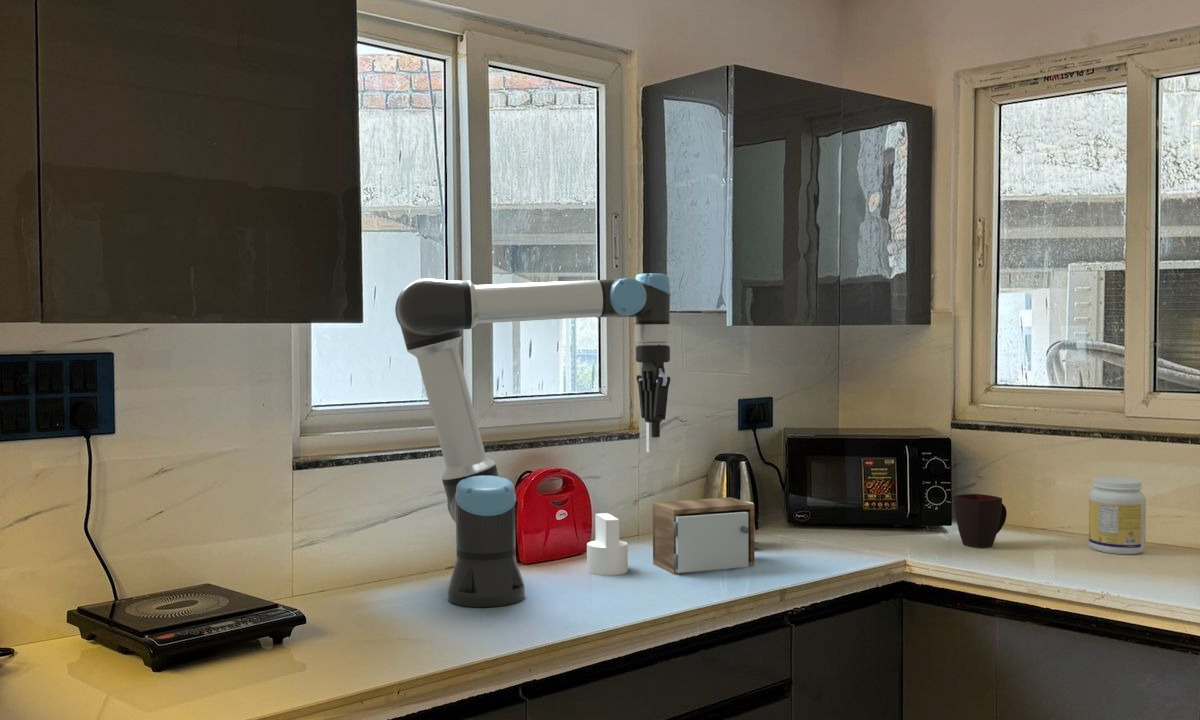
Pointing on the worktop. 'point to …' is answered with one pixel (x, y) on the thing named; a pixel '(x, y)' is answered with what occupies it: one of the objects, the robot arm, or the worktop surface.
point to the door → (711, 542)
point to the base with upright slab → (607, 548)
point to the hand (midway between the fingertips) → (653, 451)
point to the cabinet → (670, 510)
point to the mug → (979, 518)
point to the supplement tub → (1117, 516)
